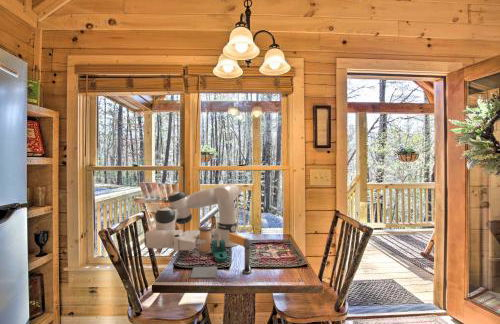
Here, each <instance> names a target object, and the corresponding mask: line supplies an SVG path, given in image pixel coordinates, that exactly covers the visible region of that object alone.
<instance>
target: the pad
mask: <svg viewBox="0 0 500 324" xmlns="http://www.w3.org/2000/svg"><path fill="white" fill-rule="evenodd" d="M217 273H218V266H195V267H193V268H192V271H191V274H190V277H189V279H192V280H193V279H195V280H196V279H216V278H217Z"/></svg>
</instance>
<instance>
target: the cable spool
mask: <svg viewBox="0 0 500 324" xmlns="http://www.w3.org/2000/svg"><path fill="white" fill-rule="evenodd" d="M198 231H199V234H200V239H206V243H202V244H199V249H198V254H199V255H209V254H211V253H212V249H211V243H210V238H211V231H212V227H211V226H207V225H206V226H204V225H203V226H200V227H198ZM200 239H199V240H200Z"/></svg>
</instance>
